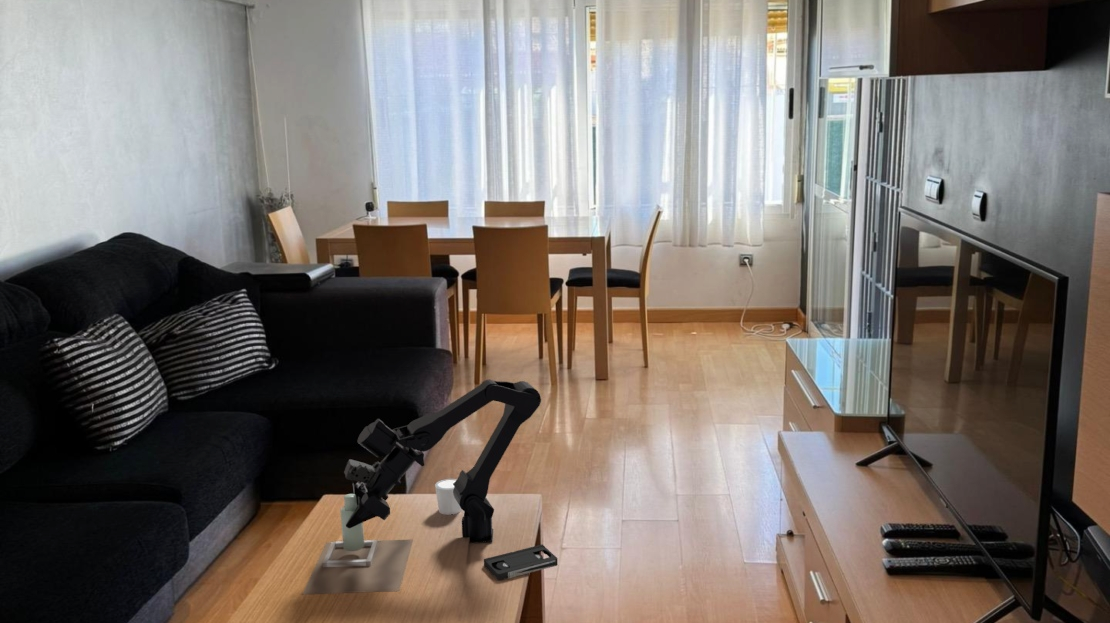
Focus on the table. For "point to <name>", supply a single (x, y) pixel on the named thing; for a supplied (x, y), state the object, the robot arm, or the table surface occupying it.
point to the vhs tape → (520, 562)
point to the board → (360, 568)
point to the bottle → (354, 535)
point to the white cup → (446, 497)
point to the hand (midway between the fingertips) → (345, 522)
